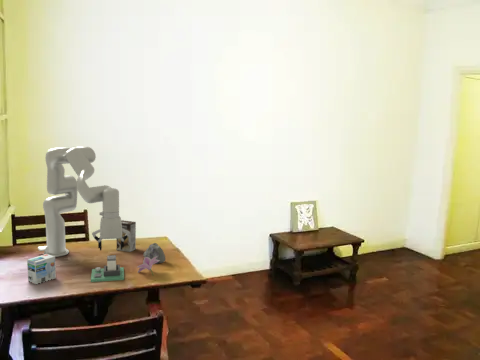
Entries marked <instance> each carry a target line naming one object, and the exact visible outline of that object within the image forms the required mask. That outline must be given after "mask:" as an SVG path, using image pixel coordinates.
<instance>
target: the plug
mask: <svg viewBox="0 0 480 360" xmlns="http://www.w3.org/2000/svg"><path fill="white" fill-rule="evenodd" d="M106 257H107V259H106V260H107V261H106V262H107V263H106V264H107V271H113V270H116V265H117V255H116V254H115V255H113V254H112V255H107V256H106Z"/></svg>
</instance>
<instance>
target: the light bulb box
mask: <svg viewBox="0 0 480 360" xmlns="http://www.w3.org/2000/svg"><path fill="white" fill-rule="evenodd" d="M56 269H57V268H56V257H55V256H52V255H49V254H44V253H43V254H42V255H38V256H35V257H31V258H28V259H27V281H28V282H29V281H30V282H29V283H31V282H33V283H32V284H34V283H35V284H34V285H36V284H37V285H39V284H38V283H40V284H42V283H41V282H43V283H46V282H49V281H52V280H54V279H57V278H56V276H57V274H56V271H57V270H56ZM51 279H52V280H51ZM48 280H49V281H48ZM45 281H46V282H45Z"/></svg>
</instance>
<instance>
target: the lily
mask: <svg viewBox="0 0 480 360" xmlns="http://www.w3.org/2000/svg"><path fill="white" fill-rule="evenodd" d="M156 258H157V256H156V257H154V258H152V259H150V258H149V257H143V262H142V264H140V265H139V264H138V266H137V268H138V271H137V274H138V273H141V272H142V271H143V270H147V271H151V274H152V276H154V273H153V271H152V270H153V269H152V268H153V265H154V264H157V262H159V261H160V260H155V259H156Z"/></svg>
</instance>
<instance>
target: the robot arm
mask: <svg viewBox="0 0 480 360" xmlns="http://www.w3.org/2000/svg"><path fill="white" fill-rule="evenodd" d="M96 158H97V157H96V153H95V151H94V149H93V148H92V147H89V146H66V147H65V146H64V147H54V148H50V149H48V150H47V152H46V153H45V160H44V161H45V163H46V174H47V175H46V191H47V193H48V194H49V195H52V196H49V197H47V198H45V199H44V200H43V202H42V209H43V212H44V219H45V236H46V245H44V246H38V247H37V250H38V251H40V252H43V255H44V254H49V255H52V256H55V258H59V257H63V256H66V255H68V254H69V252H70V251H69V249H68V248H66V226H65V224H66V223H65V219H64V218H63V217H62V215H61V214H63V213H68V212H69V213H70V212H73V211H74V210H76V208H77V204H78V193H79V195H80V196H81V198H82V200H83V201H84V202H86V203H87V204H95V203H102V211H101V212H99V216H101V217H100V221H99V229H96V230H95V231H93V232H92V233H91V235H92V237H93V238H94V240H95V241H96V242H97V243H98V246H97V247H98V248H97V249H99V251H102V249H103V247H102V245H103V244H102V243H103V242H102V241H103V240H117V239H119V238H120V240H121V250H122V247H124V240H125V239H126V238H127V237H128V235H129V233H130V232H129V231H127V230H125V229H123V228H122V222H121V220H122V217H121V216H120V191H119V189H117V188H112V187H111V186H109V185H97V186H91V187H90V186H89V185H88V184H87V182H86V180H88V179H90V178H91V177H92V176H93V175H94V173H95V167H94V165H92V163H94V162H95V161H96ZM65 164H67V165H68V164H69V165H70V167H71V168H72V169H73V171H74V172H75V175H77V179H76V177H75V176H73V175H69V174H68V175H65V167H64V165H65ZM122 232H124V233H126V235H125V236H124V237H123V236H122ZM97 234H99V236H98V235H97ZM121 250H120V251H121Z"/></svg>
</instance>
